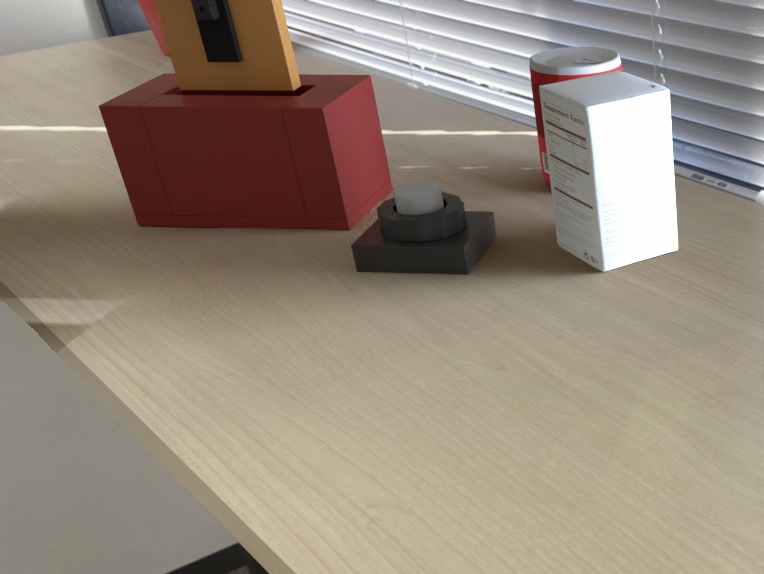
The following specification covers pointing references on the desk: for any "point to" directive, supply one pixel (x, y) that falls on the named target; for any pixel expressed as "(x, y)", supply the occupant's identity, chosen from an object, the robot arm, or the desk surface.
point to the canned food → (565, 79)
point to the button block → (425, 240)
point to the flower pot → (154, 23)
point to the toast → (256, 39)
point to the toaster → (250, 154)
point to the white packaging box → (611, 168)
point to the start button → (418, 198)
